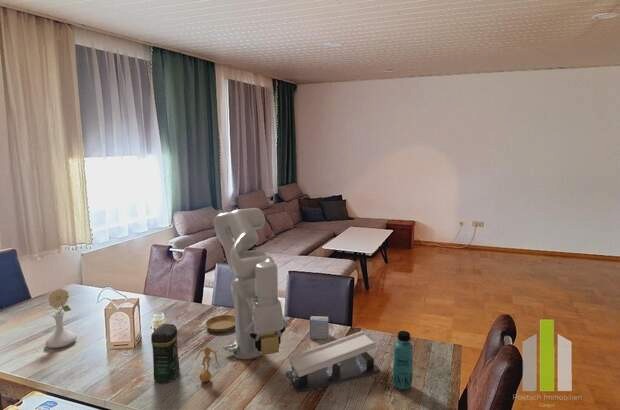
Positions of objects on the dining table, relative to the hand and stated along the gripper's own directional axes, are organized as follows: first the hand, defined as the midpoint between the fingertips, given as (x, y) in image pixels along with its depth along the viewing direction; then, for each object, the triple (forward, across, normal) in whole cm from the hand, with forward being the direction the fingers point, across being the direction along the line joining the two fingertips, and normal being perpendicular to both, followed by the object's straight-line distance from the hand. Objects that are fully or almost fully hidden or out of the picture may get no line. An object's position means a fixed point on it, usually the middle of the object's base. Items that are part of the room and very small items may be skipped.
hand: (267, 347), depth 139 cm
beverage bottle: (+13, +41, -21) cm, 48 cm away
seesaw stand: (+13, +23, -4) cm, 27 cm away
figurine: (+14, -20, +10) cm, 26 cm away
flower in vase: (+16, -73, +60) cm, 96 cm away
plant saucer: (+15, -8, +50) cm, 53 cm away
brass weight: (+1, 0, 0) cm, 1 cm away
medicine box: (+14, +29, +23) cm, 40 cm away
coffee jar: (+14, -33, +18) cm, 40 cm away
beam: (+6, +23, -4) cm, 24 cm away
